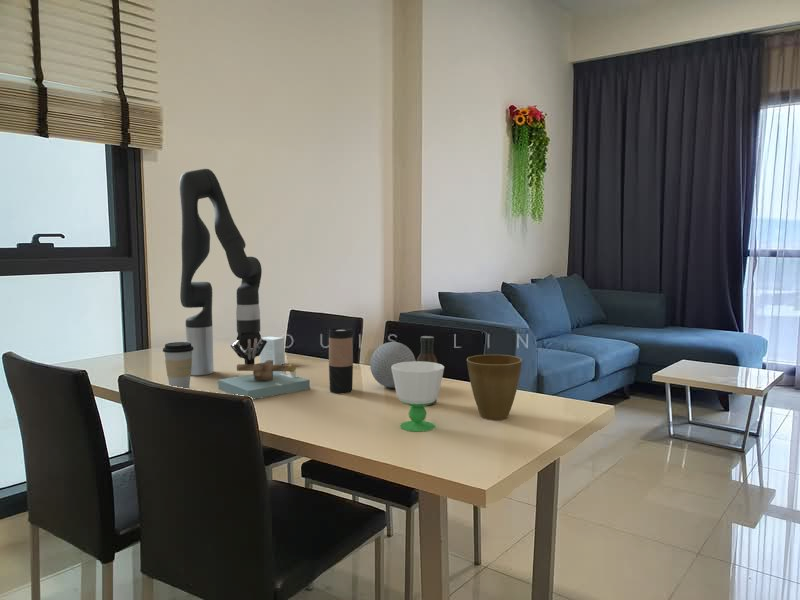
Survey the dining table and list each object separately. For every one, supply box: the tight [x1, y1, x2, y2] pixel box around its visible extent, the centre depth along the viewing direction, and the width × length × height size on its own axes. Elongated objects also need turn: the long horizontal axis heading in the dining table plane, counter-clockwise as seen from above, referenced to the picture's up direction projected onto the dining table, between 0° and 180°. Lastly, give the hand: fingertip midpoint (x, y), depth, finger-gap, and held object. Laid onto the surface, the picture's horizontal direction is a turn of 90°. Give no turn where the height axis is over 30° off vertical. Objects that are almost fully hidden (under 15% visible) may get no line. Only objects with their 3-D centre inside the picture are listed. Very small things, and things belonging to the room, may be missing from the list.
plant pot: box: [466, 354, 523, 421], centre depth 169 cm, size 15×15×16 cm
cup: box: [391, 360, 445, 433], centre depth 159 cm, size 14×14×16 cm
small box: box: [259, 336, 286, 365], centre depth 241 cm, size 8×6×10 cm
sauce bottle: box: [416, 335, 439, 406], centre depth 182 cm, size 6×6×20 cm
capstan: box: [236, 360, 297, 381], centre depth 200 cm, size 19×17×5 cm
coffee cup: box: [162, 341, 194, 389], centre depth 199 cm, size 9×9×15 cm
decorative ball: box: [369, 341, 416, 389], centre depth 203 cm, size 15×15×15 cm
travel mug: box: [328, 327, 354, 395], centre depth 197 cm, size 8×8×20 cm
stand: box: [217, 370, 311, 400], centre depth 200 cm, size 21×22×5 cm
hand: (249, 370), depth 203 cm, fingers closed
